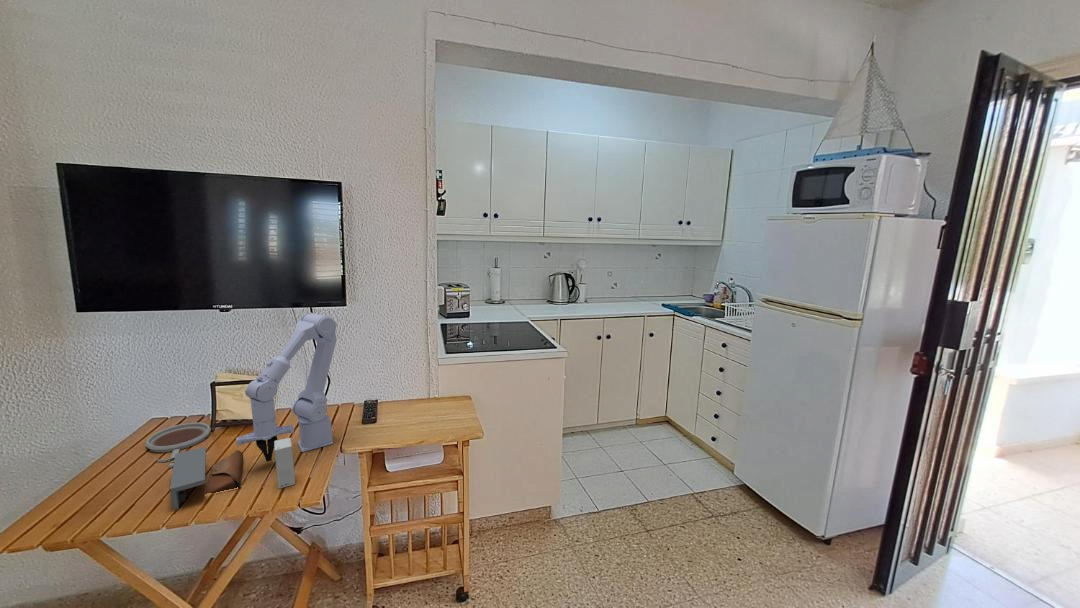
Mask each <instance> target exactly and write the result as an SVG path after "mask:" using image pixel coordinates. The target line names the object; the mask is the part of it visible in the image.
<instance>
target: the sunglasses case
mask: <svg viewBox="0 0 1080 608" xmlns="http://www.w3.org/2000/svg"><path fill="white" fill-rule="evenodd" d="M243 464H244V453H243V451H241V450H239V449H236V450H234V451H233V452H232V453H230V454H229V455H228V456H227V457H225V458H223V459H222V460H220V461H218V462H216V463H215V464H212V465H213V466H212V465H211V466H212V467H210V474H209V478H208V481H207V485H206V488H205V490H204V493H205V494H207V493H216V492H220V491H224V490H229V489H234V488H237V487H238V488H239V489H240V487H241V481H242V472H243V470H242V469H243Z"/></svg>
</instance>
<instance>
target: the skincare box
mask: <svg viewBox="0 0 1080 608" xmlns="http://www.w3.org/2000/svg"><path fill="white" fill-rule="evenodd" d="M291 439H292V438H291V437H286V438H281V439H277V440H276V441H274V458H275V460H274V461H275V467H276V479H277V480H276V481H277V489H279V490H280V489H284V488H286V487H290V486H294V485H296V480H295V479H296V478H295V467H294V456H293V455H294V454H293V444H292V440H291Z"/></svg>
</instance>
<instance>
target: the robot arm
mask: <svg viewBox="0 0 1080 608" xmlns="http://www.w3.org/2000/svg"><path fill="white" fill-rule="evenodd" d="M337 326H338V324H337V323H336V321H335V320H334V318H333V317H332V316H330V315H323V314H318V313H314V312H309V311H308V312H306V313H304V314H303V315H302V316H301V317H300V319H299V320H298V321H297V322H296V326H295V330H294V332H293V333H292V335H291V337H289V339H288V340H287V342H286V344H285V345H284V347H283V348H282V350H281V352H280V353H279V355H277V356H274V357H271V359H268V360H267V362H266V366H265V367H264V368H263V370H262V371H261V372H260V374H259V375H257V377H255V379H254V380H251V381H250V382H249V383H248V385H247V387H246V390H244V394H245V396H247V398H249V399H250V401H249V402H250V408H251V417H252V426H253V431H252V432H250V433H247V434H245V435H241V436H237V437H236V438H235V439H236V446H237V447H240V446H242V445H244V444H248V443H252V442H255V444H256V447H257V448H258V449H259V450H260V451H261V453H262V455H264V458H265V461H266V462H265V463H267V462H272V461H273V459H272V458H273V453H274V451H275V448H274V441H276V440H278V436H282V435H285V434H294V433H295V428H294V425H293V424H289V425H281V426H277V420H276V419H277V418H276V410H275V402H274V401H275V399H274V398H275V397H276V396H277V393H278V387H279V384H280V383H281V380H283V378H284V377H285V376H286V374H287V373H288V371H289V369H290V368H291V360H292V359H293V358H294V357H295V356H296V354H298V352H299V351H300V350H301V348H302V347H303V346H304V345H305V343H306V342H307V341H310V340H314V341H315V342H316V346H315V350H314V354H313V358H312V361H311V366H310V370H309V373H308V378H307V381H306V384H305V389H303V390H302V391H301V392H299V394H298V396H297V399H296V400H295V401H294V403H293V406H292V412H293V414H294V415H295V416H297V421H298V430H299V431H298V433H299V440H297V444H298V446H299V449H300V452H301V453H303V452H308V451H312V450H315V449H320V448H323V447H327V446H330V445H333V444H334V441H333V431H332V429H333V428H332V422H331V421H332V420H331V417H330V415H329V414H328V413H327V412H328V406H327V404H328V403H327V402H328V398H327V397H326V394H325V393H324V389H325V386H326V382H327V379H328V375H329V371H330V368H331V363H332V359H333V355H334V352H335V348H336V343H337V333H336V329H337Z"/></svg>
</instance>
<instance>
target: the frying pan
mask: <svg viewBox="0 0 1080 608" xmlns="http://www.w3.org/2000/svg"><path fill="white" fill-rule="evenodd" d="M211 430H212V429H211V427H210V425H209V424H207V423H204V422H188V423H180V424H177V425H172V426H170V427H166V428H164V429H160V430H159V431H156V432H155V433H153V434H152V435H150V436H149V437H148V438H147V439H146V440H145V443H144V444H145V447H146V448H147V449H148V450H149V449H150V450H149V451H151V452H152V451H155V452H154V453H158V452H162V453H170V452H169V451H172V452H171V456H170V458H165V459H161V458H160V459H159V458H157V459H156V461H157V463H167V462H166V461H168V462H169V464H168V465H167V467H168V469H173V468H172V467H173V466H174V459H175V454H177V453H180V451H181V450H185V449H188V448H190V446H191V447H194V446H196V445H198V444H199V442H200V443H201V441H202V442H203V441H204V440H205V438H206V437H207V436H209V435H210V432H211ZM207 438H208V437H207ZM207 438H206V439H207ZM197 443H198V444H197ZM195 444H196V445H195ZM184 448H185V449H184ZM180 449H181V450H180ZM170 460H171V461H170Z"/></svg>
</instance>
